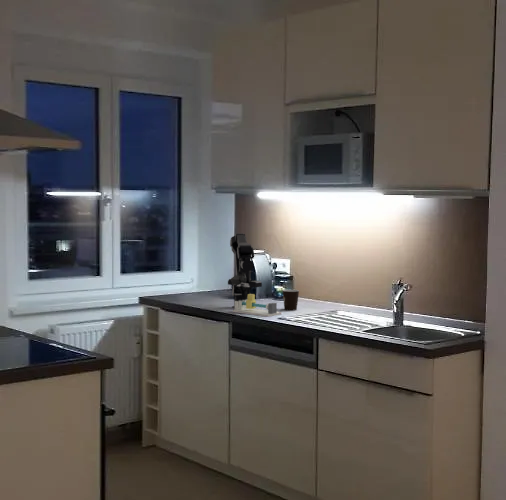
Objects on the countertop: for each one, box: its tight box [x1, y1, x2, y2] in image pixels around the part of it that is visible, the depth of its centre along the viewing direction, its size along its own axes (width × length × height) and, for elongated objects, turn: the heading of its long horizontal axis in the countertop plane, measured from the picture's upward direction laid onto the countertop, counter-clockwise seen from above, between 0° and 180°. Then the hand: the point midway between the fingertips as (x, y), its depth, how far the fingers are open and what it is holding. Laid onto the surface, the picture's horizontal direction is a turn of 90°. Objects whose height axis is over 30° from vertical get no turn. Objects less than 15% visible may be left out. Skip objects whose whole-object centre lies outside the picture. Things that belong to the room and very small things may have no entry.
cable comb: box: [232, 298, 282, 317], centre depth 407 cm, size 23×11×6 cm, turn 50°
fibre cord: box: [242, 302, 278, 314], centre depth 407 cm, size 22×4×5 cm, turn 50°
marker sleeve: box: [246, 293, 257, 309], centre depth 410 cm, size 3×4×7 cm
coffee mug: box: [282, 289, 300, 311], centre depth 422 cm, size 12×9×10 cm
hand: (244, 299), depth 412 cm, fingers closed
